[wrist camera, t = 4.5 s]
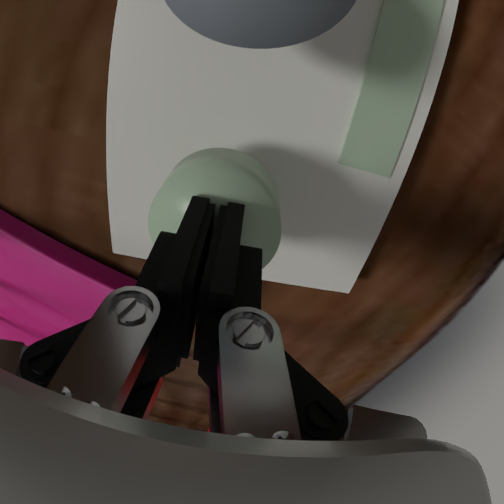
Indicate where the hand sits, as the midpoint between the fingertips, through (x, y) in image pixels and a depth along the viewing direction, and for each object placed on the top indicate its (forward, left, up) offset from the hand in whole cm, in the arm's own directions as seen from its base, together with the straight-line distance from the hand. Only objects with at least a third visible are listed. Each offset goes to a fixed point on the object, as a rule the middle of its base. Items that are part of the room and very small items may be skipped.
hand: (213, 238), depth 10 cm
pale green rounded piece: (0, 0, -4) cm, 4 cm away
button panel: (-8, +1, -5) cm, 10 cm away
